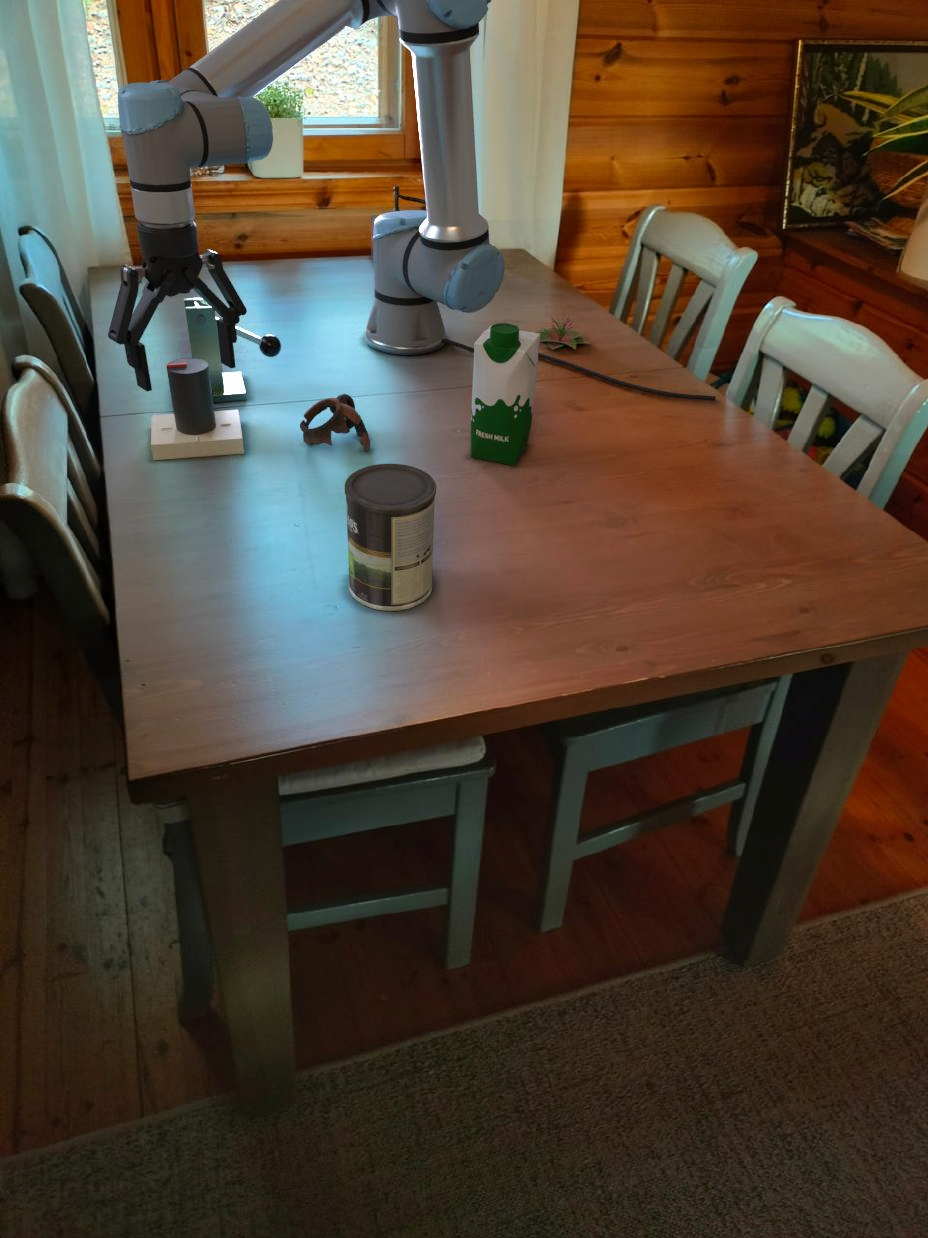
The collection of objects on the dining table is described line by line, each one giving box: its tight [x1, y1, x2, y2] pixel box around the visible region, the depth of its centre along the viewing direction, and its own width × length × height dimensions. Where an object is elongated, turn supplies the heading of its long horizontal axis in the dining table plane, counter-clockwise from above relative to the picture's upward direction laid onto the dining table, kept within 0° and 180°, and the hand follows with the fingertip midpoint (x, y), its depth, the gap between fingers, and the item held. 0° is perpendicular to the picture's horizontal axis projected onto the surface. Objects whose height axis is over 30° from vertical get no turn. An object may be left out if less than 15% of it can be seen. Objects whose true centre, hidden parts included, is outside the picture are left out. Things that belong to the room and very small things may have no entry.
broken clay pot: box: [299, 393, 371, 453], centre depth 139 cm, size 12×9×8 cm
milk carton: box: [470, 322, 540, 467], centre depth 134 cm, size 9×9×20 cm
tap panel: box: [150, 409, 245, 461], centre depth 137 cm, size 13×10×3 cm
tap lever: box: [192, 302, 282, 358], centre depth 148 cm, size 15×4×4 cm, turn 108°
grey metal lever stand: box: [183, 297, 248, 403], centre depth 148 cm, size 11×9×15 cm
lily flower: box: [534, 315, 592, 351], centre depth 176 cm, size 12×12×5 cm
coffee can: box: [344, 463, 437, 612], centre depth 106 cm, size 10×10×14 cm
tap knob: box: [166, 357, 216, 435], centre depth 134 cm, size 6×6×10 cm
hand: (187, 376), depth 132 cm, fingers open, 13 cm apart
